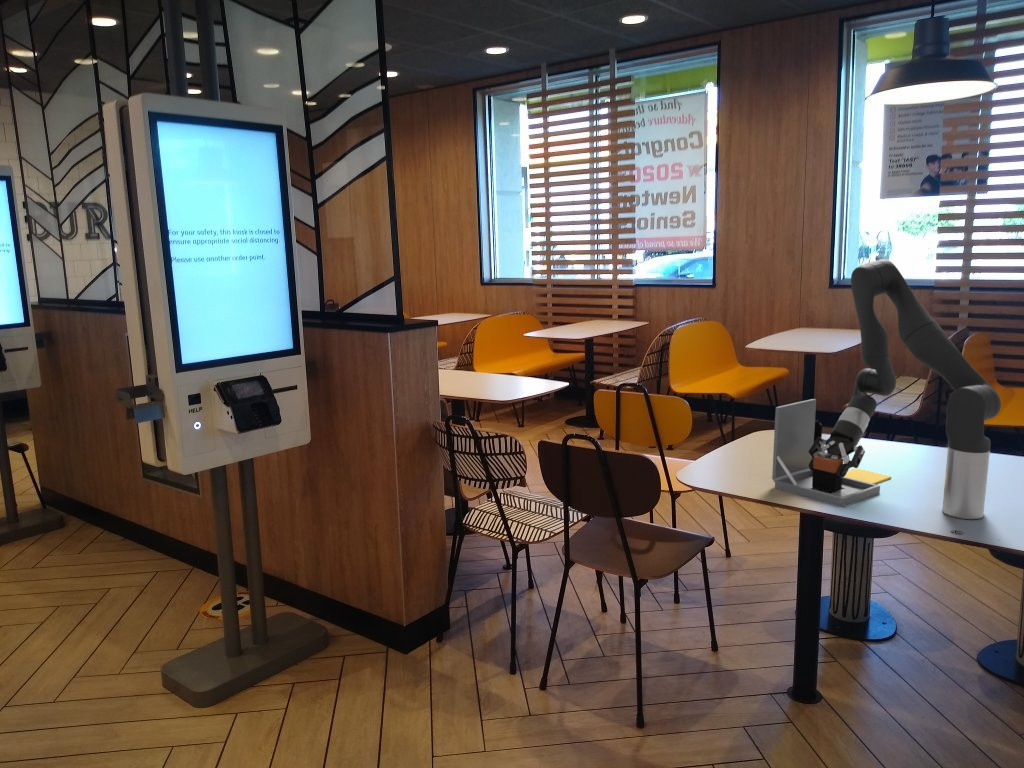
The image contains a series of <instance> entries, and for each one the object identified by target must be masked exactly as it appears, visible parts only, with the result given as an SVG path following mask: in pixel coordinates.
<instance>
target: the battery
mask: <svg viewBox="0 0 1024 768" xmlns="http://www.w3.org/2000/svg"><path fill="white" fill-rule="evenodd" d="M819 454H820V455H817V456H815V457H814V462H813V478H812V487H813V488H815V489H816V490H817V489H818V490H820V491H824V492H829V493H834V492H836V491H839V490H842V489H841V488H842V479H841V478H838V476H837V472H838V470H839V469H840V467H841V465H842V464H844V461H843V458H838V456H836V455H832V456H829V455H827V454H828V453H827V451H825V452H820V453H819Z"/></svg>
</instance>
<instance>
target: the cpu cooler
mask: <svg viewBox="0 0 1024 768" xmlns="http://www.w3.org/2000/svg"><path fill="white" fill-rule="evenodd" d="M822 435H823V424H822V422H820V421H819V420H818V419H815V429H814V442H815V440H816V439H817V437H821V438H822V437H823V436H822ZM822 439H823V438H822Z"/></svg>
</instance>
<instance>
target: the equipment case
mask: <svg viewBox="0 0 1024 768" xmlns="http://www.w3.org/2000/svg"><path fill="white" fill-rule="evenodd" d="M816 409H817V398H811V399H807V400H802V401H801V400H800V401H797V402H793V403H789V404H785V405H780V406H776V407H775V417H774V434H773V436H774V437H773V455H772V474H771V479H772V481H773V483H774V488H775V489H779V490H781V491H785V492H790V493H792V494H796V495H800V496H803V497H806V498H811V499H813V500H817V501H821V502H824V503H826V504H827V503H828V504H831V505H835V506H837V507H841V508H844V507H847V506H850V505H852V504H855V503H857V502H861V501H863V500H866V499H869V498H871V497H873V496H876V495H879V494H881V493H880V492H881V485H879V484H871V483H867V482H863V481H859V480H855V479H851V478H847V477H842V488H841V490H839V491H836V492H834V493H833V492H830V493H828V492H826V491H822V490H817V489H816V488H813V487H812V478H813V471H811V470H810V469H809V463H810V461H811V459H812V456H811V455H810V453H809V450H810V448H811V447H812V445H813V444H814V429H815V420H816Z"/></svg>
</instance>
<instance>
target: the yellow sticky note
mask: <svg viewBox="0 0 1024 768" xmlns="http://www.w3.org/2000/svg"><path fill="white" fill-rule="evenodd" d="M844 477H847V478H851V479H855V480H859V481H863V482H867V483H871V484H875V485H879V484H880V483H883V482H885V481H888V480H891V479H892V476H890V475H886V474H882V473H878V472H874V471H870V470H865V469H861V468H859V467H858V468H852V469H850V470H848V471H847V473H846V475H845V476H844Z"/></svg>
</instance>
